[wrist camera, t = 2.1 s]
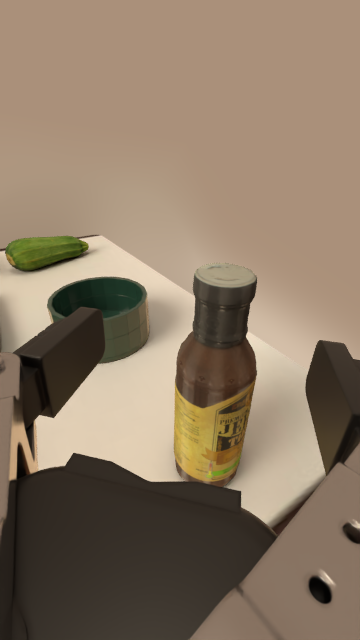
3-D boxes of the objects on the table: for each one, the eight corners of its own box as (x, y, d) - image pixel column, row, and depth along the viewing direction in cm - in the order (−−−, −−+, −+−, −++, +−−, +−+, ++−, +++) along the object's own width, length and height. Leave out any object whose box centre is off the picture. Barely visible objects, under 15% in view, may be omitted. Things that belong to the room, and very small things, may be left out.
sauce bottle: (221, 509, 25) (252, 309, 15) (161, 471, 28) (152, 281, 18) (248, 451, 30) (286, 268, 19) (195, 424, 33) (203, 250, 22)
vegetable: (-2, 235, 64) (80, 220, 77) (1, 260, 70) (78, 242, 82) (14, 257, 62) (96, 238, 75) (17, 280, 68) (92, 259, 80)
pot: (140, 307, 55) (138, 272, 51) (157, 353, 43) (155, 312, 40) (60, 318, 51) (51, 282, 48) (55, 372, 40) (42, 329, 36)
